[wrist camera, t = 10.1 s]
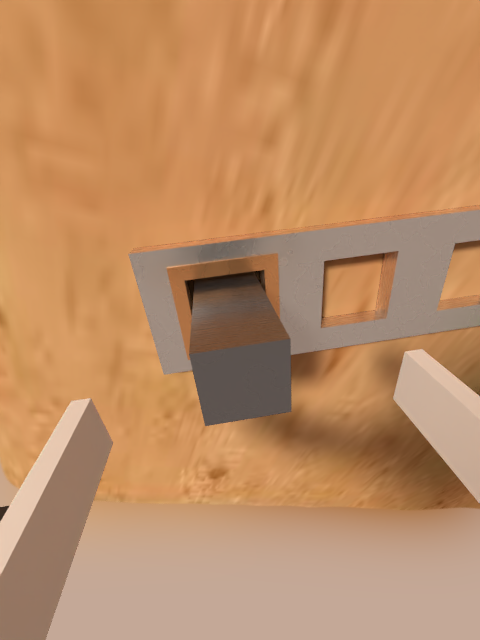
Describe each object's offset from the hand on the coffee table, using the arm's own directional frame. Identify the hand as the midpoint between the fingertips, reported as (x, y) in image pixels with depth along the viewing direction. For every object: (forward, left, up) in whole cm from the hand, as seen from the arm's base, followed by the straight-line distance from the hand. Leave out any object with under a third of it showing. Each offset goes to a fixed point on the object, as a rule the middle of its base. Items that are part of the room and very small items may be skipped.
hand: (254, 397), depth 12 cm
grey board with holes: (0, +10, -11) cm, 15 cm away
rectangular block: (0, 0, -11) cm, 11 cm away
